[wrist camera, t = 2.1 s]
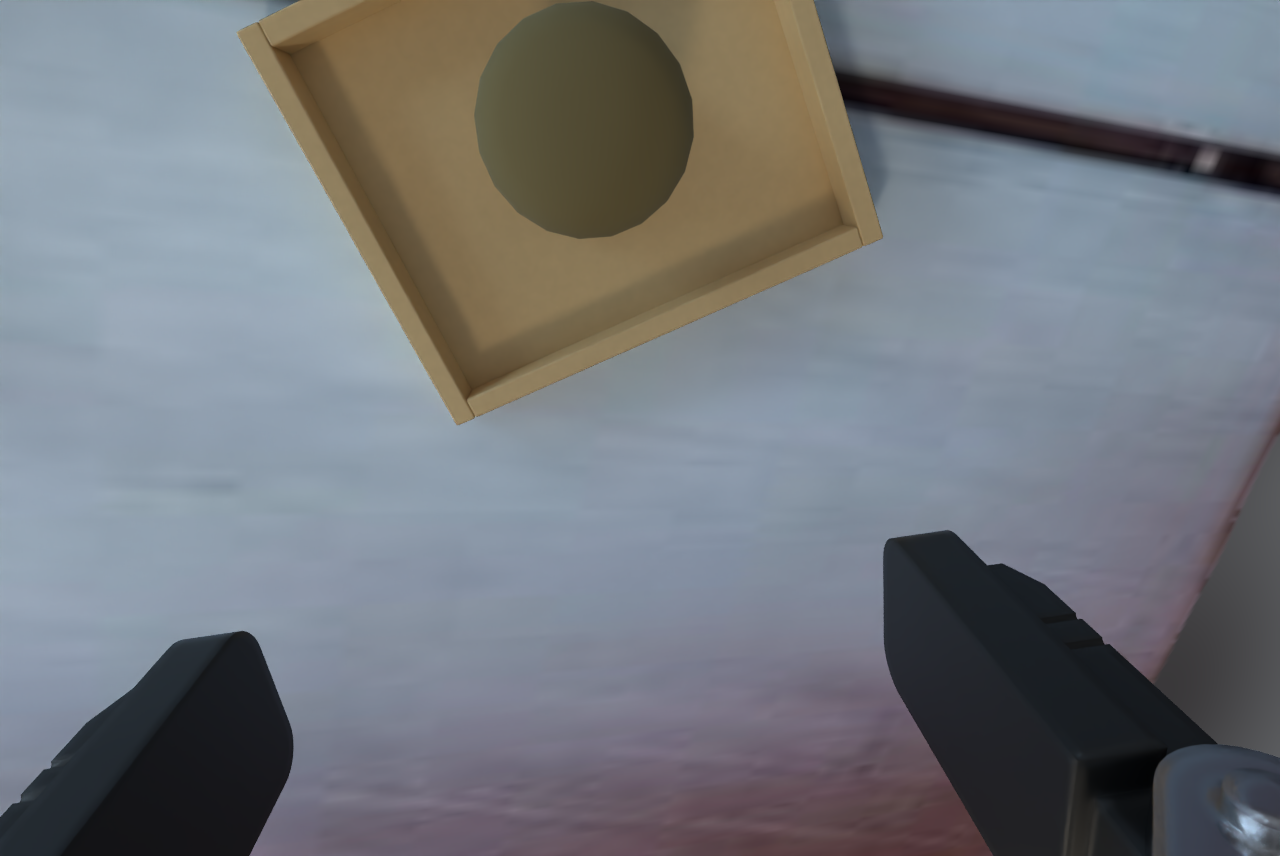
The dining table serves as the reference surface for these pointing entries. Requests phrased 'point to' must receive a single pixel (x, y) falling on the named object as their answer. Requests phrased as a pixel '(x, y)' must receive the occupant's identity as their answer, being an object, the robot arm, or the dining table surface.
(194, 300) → the dining table surface
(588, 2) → the olive green rounded piece
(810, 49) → the light wooden flat tray
